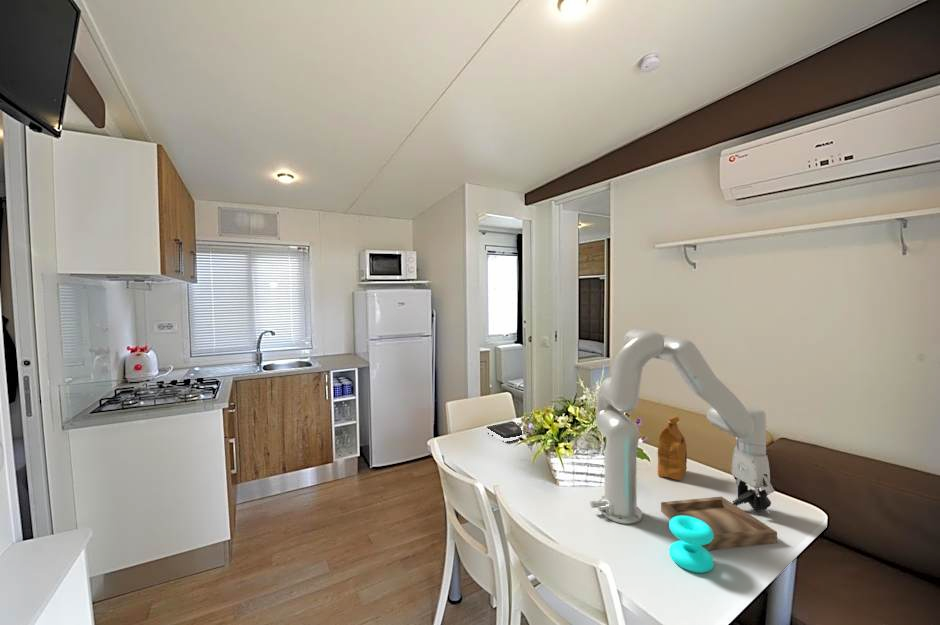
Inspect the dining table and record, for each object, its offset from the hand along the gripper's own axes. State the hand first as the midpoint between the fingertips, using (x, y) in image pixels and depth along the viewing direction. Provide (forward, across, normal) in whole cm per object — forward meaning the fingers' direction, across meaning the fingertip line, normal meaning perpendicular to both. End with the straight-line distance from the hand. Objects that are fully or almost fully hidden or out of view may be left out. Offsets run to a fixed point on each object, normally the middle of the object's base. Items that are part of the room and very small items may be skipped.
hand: (751, 502), depth 121 cm
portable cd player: (+4, -83, -59) cm, 102 cm away
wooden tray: (+3, +5, -17) cm, 18 cm away
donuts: (+3, +18, -35) cm, 39 cm away
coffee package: (+3, -28, -7) cm, 29 cm away
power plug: (+3, -1, 0) cm, 3 cm away
